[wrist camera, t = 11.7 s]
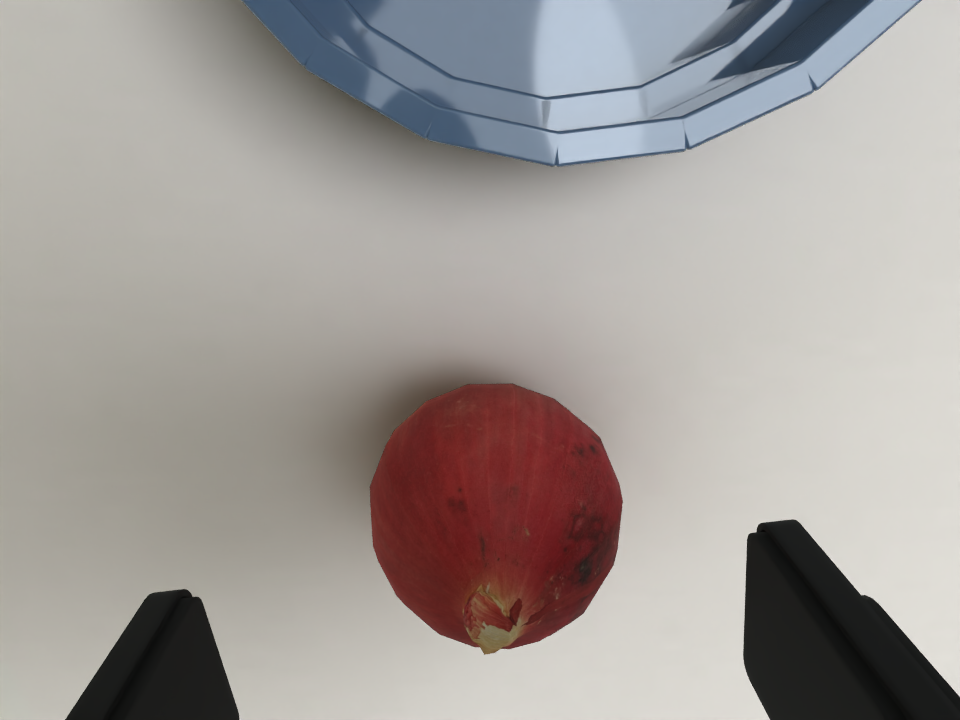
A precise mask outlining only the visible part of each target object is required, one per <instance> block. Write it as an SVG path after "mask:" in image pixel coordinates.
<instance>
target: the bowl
mask: <svg viewBox="0 0 960 720" xmlns="http://www.w3.org/2000/svg"><path fill="white" fill-rule="evenodd" d="M241 1H242V2H243V3H244V4H245V5H246V6H247V8H248V9H249V10H250V11H251V12H252V13H253V14H254V15H255V16H256V17H257V18H258V19H259V20H260V22H261V23H262V24H263V25H264V26H265V27H266V28H267V29H268V30H269V31H270V32H271V33H272V35H273V36H274V37H275V38H276V39H277V40H278V41H279V42H280V43H281V44H282V45H283V46H284V48H285V49H286V50H287V51H288V52H289V53H290V54H291V55H292V56H293V57H294V58H295V59H296V61H297V62H298V63H299V64H300V65H302V66H304V67H305V69H306V70H307V71H309V72H311V73H312V74H314V75H316V76H317V77H319V78H321V79H323V80H324V81H326V82H328V83H329V84H331V85H333V86H335V87H336V88H338V89H340V90H341V91H343V92H345V93H347V94H348V95H350V96H352V97H353V98H355V99H357V100H358V101H360V102H362V103H364V104H365V105H367V106H369V107H370V108H372V109H374V110H376V111H377V112H379V113H381V114H382V115H384V116H386V117H388V118H389V119H391V120H393V121H394V122H396V123H398V124H399V125H401V126H403V127H405V128H406V129H408V130H410V131H411V132H413V133H415V134H417V135H418V136H420V137H422V138H424V139H427V140H429V141H433V142H438V143H442V144H447V145H452V146H457V147H461V148H466V149H471V150H475V151H480V152H485V153H490V154H494V155H499V156H504V157H509V158H513V159H518V160H523V161H527V162H532V163H537V164H542V165H546V166H551V167H553V166H557V167H563V166H571V165H579V164H587V163H596V162H604V161H612V160H620V159H629V158H637V157H645V156H653V155H662V154H670V153H678V152H684V151H686V150H691V149H693V148H695V147H697V146H700V145H702V144H704V143H706V142H708V141H710V140H713V139H715V138H717V137H719V136H721V135H723V134H726V133H728V132H730V131H732V130H734V129H736V128H739V127H741V126H743V125H745V124H747V123H749V122H752V121H754V120H756V119H758V118H760V117H762V116H765V115H767V114H769V113H771V112H773V111H775V110H778V109H780V108H782V107H784V106H786V105H789V104H791V103H793V102H795V101H797V100H799V99H802V98H804V97H806V96H808V95H810V94H812V93H813V92H814V91H816V90H819V89H820V88H821V87H822V86H823V85H824V84H826V83H827V82H828V81H829V80H830V79H831V78H833V77H834V76H835V75H836V74H837V73H838V72H839V71H841V70H842V69H843V68H844V67H845V66H846V65H848V64H849V63H850V62H851V61H852V60H853V59H855V58H856V57H857V56H858V55H859V54H860V53H861V52H863V51H864V50H865V49H866V48H867V47H868V46H870V45H871V44H872V43H873V42H874V41H875V40H877V39H878V38H879V37H880V36H881V35H882V34H883V33H885V32H886V31H887V30H888V29H889V28H890V27H892V26H893V25H894V24H895V23H896V22H897V21H899V20H900V19H901V18H902V17H903V16H904V15H905V14H907V13H908V12H909V11H910V10H911V9H912V8H914V7H915V6H916V5H917V4H918V3H919V2H921V1H922V0H241Z"/></svg>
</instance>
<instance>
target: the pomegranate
mask: <svg viewBox="0 0 960 720" xmlns="http://www.w3.org/2000/svg"><path fill="white" fill-rule="evenodd" d="M622 503H623V500H622V495H621V490H620V485H619V482H618V479H617V477H616V475H615V472H614V470H613V468H612V465H611V463H610V460H609V458H608V456H607V453H606V451H605V448H604V446H603V444H602V441H601V439H600V437H599V436H598V435H597V434H596V433H595V432H594V431H592V430H591V429H590V428H589V427H588V426H587V425H586V424H585V423H583V422H582V421H581V420H580V419H578V418H577V417H576V416H575V415H574V414H572V413H571V412H570V411H569V410H567V409H566V408H565V407H564V406H563V405H561V404H560V403H559V402H557V401H556V400H555V399H553V398H551V397H548V396H545V395H542V394H540V393H537V392H534V391H531V390H528V389H526V388H523V387H520V386H517V385H515V384H467V385H465V386H462V387H460V388H457V389H455V390H453V391H450V392H448V393H445V394H443V395H440V396H438V397H435V398H433V399H430V400H428V401H426V402H425V403H424V404H423V405H421V406H420V407H419V408H418V409H417V410H416V411H415V412H414V413H413V414H412V415H410V416H409V417H408V418H407V419H406V420H405V421H404V422H403V423H402V424H401V425H400V426H398V427H397V428H396V429H395V430H394V432H393V433H392V435H391V437H390V439H389V440H388V442H387V444H386V446H385V449H384V451H383V454H382V456H381V459H380V462H379V464H378V467H377V469H376V472H375V475H374V477H373V480H372V483H371V485H370V506H371V522H372V537H373V547H374V550H375V553H376V556H377V559H378V561H379V563H380V565H381V567H382V569H383V571H384V573H385V575H386V577H387V579H388V580H389V582H390V584H391V586H392V588H393V590H394V592H395V594H396V595H397V597H398V598H399V599H400V600H401V601H402V602H403V603H404V604H405V605H406V606H407V607H408V608H409V609H410V610H412V611H413V612H414V613H415V614H416V615H417V616H418V617H420V618H421V619H422V620H423V621H424V622H425V623H426V624H428V625H429V626H430V627H431V628H432V629H433V630H435V631H436V632H437V633H439V634H440V635H443V636H445V637H448V638H451V639H454V640H456V641H459V642H462V643H465V644H468V645H470V646H473V647H480V648H481V649H482V651H483V653H484V655H485V654H490V653H495V652H496V651H498V650H499V649H512V648H515V647H519V646H523V645H527V644H531V643H534V642H538V641H540V640H542V639H544V638H545V637H547V636H550V635H552V634H553V633H555V632H556V631H558V630H560V629H561V628H563V627H564V626H566V625H567V624H569V623H571V622H572V621H574V620H575V619H577V618H578V617H579V616H581V615H582V614H583V613H584V612H585V610H586V609H587V607H588V606H589V604H590V602H591V601H592V599H593V597H594V596H595V594H596V593H597V591H598V589H599V588H600V586H601V585H602V583H603V581H604V580H605V578H606V576H607V575H608V573H609V572H610V570H611V568H612V567H613V565H614V561H615V557H616V553H617V548H618V539H619V530H620V521H621V512H622Z"/></svg>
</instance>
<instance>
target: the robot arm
mask: <svg viewBox="0 0 960 720" xmlns="http://www.w3.org/2000/svg"><path fill="white" fill-rule="evenodd" d="M743 656H744V664H745V668H746V672H747V675H748V677H749V680H750V682H751V684H752V686H753V688H754V689H755V691H756V693H757V695H758V697H759V699H760V701H761V703H762V705H763V707H764V709H765V711H766V713H767V714H768V716H769V718H770V720H960V697H959V696H958V695H957V693H956V692H955V691H954V690H953V689H952V688H951V686H950V685H949V684H948V683H947V682H946V681H945V680H944V678H943V677H942V676H941V675H940V674H939V673H938V672H937V670H936V669H935V668H934V667H933V666H932V665H931V664H930V662H929V661H928V660H927V659H926V658H925V657H924V655H923V654H922V653H921V652H920V651H919V650H918V649H917V647H916V646H915V645H914V644H913V643H912V642H911V641H910V639H909V638H908V637H907V636H906V635H905V634H904V632H903V631H902V630H901V629H900V628H899V627H898V626H897V624H896V623H895V622H894V621H893V620H892V619H891V618H890V616H889V615H888V614H887V613H886V612H885V611H884V610H883V608H882V607H881V606H880V605H879V604H878V603H877V602H876V601H875V600H873V599H872V598H870V597H868V596H866V595H862V596H861V595H860V593H859V592H858V591H857V590H856V589H855V588H854V586H853V585H852V584H851V583H850V582H849V581H848V579H847V578H846V577H845V576H844V575H843V573H842V572H841V571H840V570H839V569H838V568H837V566H836V565H835V564H834V563H833V562H832V561H831V559H830V558H829V557H828V556H827V555H826V553H825V552H824V551H823V550H822V549H821V548H820V546H819V545H818V544H817V543H816V542H815V541H814V539H813V538H812V537H811V536H810V535H809V533H808V532H807V531H806V530H805V529H804V528H803V526H802V525H801V524H800V523H799V522H798V521H797V520H793V519H792V520H784V521H775V522H766V523H761V524H759V525H758V527H757V533H750V534H749V535H748V539H747V563H746V593H745V622H744V652H743ZM65 720H239V713H238V709H237V706H236V703H235V700H234V697H233V694H232V691H231V688H230V685H229V682H228V679H227V676H226V673H225V670H224V667H223V663H222V660H221V657H220V654H219V651H218V648H217V645H216V642H215V639H214V636H213V633H212V630H211V627H210V624H209V621H208V618H207V615H206V612H205V609H204V606H203V603H202V601H201V599H200V598H199V597H192V595H191V593H190V592H189V591H188V590H185V589H182V590H173V591H165V592H156V593H152V594H149V595H148V596H147V598H146V599H145V600H144V602H143V603H142V605H141V606H140V608H139V609H138V611H137V612H136V614H135V615H134V617H133V618H132V620H131V621H130V623H129V624H128V626H127V627H126V629H125V630H124V632H123V633H122V635H121V636H120V638H119V639H118V641H117V642H116V644H115V645H114V647H113V648H112V650H111V651H110V653H109V654H108V656H107V657H106V659H105V660H104V662H103V664H102V665H101V667H100V668H99V670H98V671H97V673H96V674H95V676H94V677H93V679H92V680H91V682H90V683H89V685H88V686H87V688H86V689H85V691H84V692H83V694H82V695H81V697H80V698H79V700H78V701H77V703H76V704H75V706H74V707H73V709H72V710H71V712H70V713H69V715H68V716H67V718H66V719H65Z"/></svg>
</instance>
